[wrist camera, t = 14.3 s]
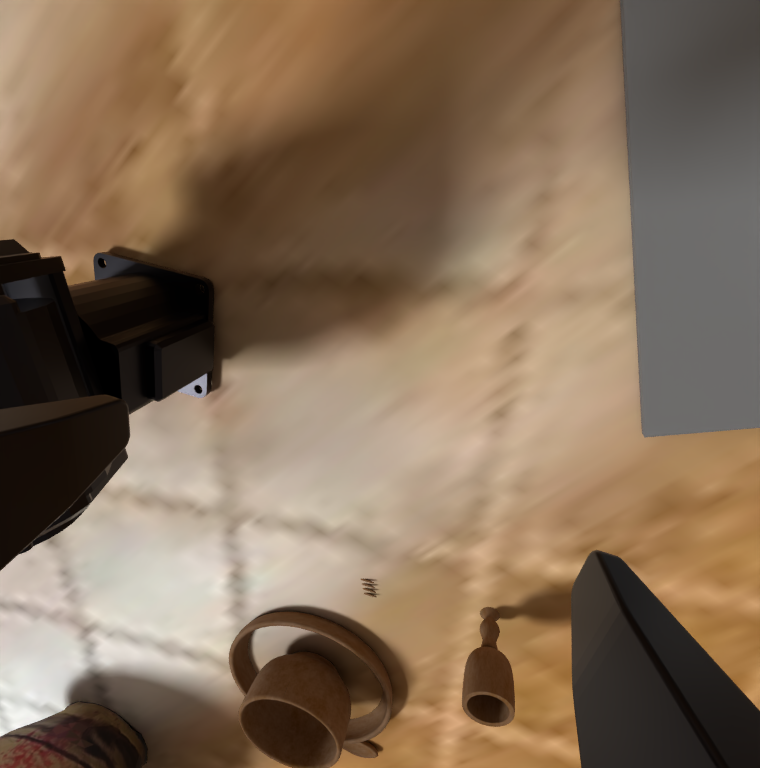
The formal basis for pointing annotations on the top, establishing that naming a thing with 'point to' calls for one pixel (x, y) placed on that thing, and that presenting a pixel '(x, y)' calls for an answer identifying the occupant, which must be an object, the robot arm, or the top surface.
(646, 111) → the charcoal rubber mat
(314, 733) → the place setting
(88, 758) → the ceramic jug
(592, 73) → the top surface
